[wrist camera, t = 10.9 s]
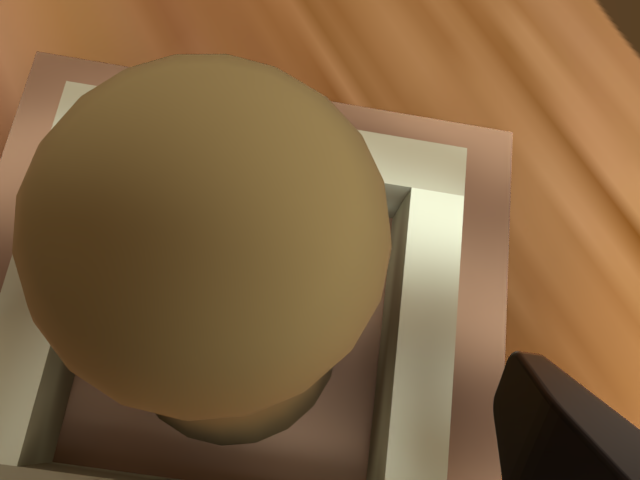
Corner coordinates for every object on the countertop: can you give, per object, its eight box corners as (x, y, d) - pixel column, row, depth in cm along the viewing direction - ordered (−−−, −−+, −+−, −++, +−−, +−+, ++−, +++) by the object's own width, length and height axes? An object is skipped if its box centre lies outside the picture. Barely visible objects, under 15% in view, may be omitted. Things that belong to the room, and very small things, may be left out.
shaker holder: (482, 673, 16) (536, 729, 13) (-130, 598, 15) (-228, 638, 12) (503, 143, 21) (545, 92, 18) (45, 65, 21) (6, -2, 17)
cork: (360, 416, 17) (518, 382, 7) (145, 470, 16) (-56, 530, 6) (311, 219, 19) (377, -47, 8) (113, 258, 18) (-87, 10, 8)
